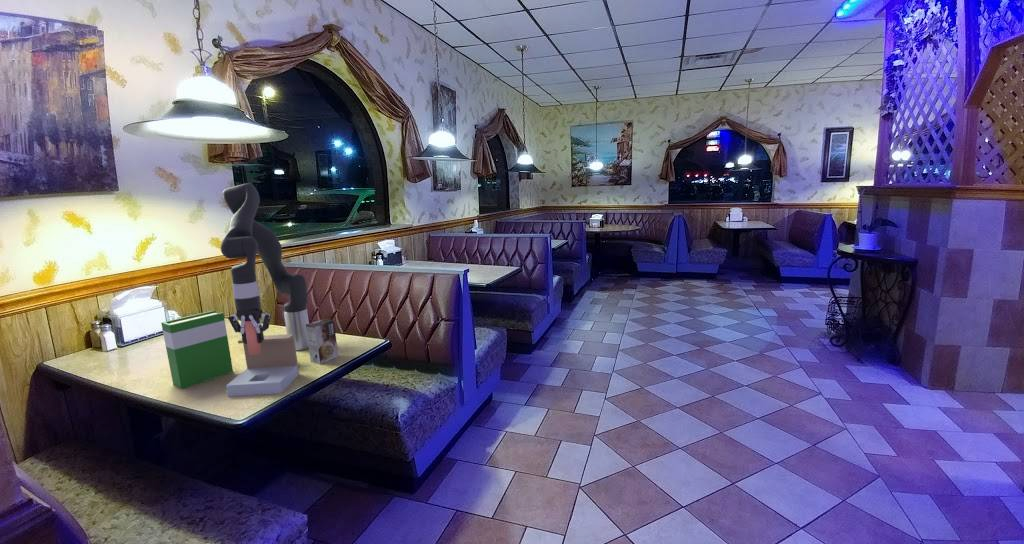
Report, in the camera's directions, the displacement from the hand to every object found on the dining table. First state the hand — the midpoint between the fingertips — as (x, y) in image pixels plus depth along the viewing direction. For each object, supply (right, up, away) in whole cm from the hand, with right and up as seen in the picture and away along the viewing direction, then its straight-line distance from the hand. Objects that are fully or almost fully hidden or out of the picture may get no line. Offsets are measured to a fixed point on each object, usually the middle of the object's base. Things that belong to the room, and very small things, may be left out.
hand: (253, 342), depth 161 cm
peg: (0, -4, +1) cm, 4 cm away
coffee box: (+13, -11, +29) cm, 34 cm away
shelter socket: (+1, -16, +6) cm, 17 cm away
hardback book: (-27, -16, +14) cm, 34 cm away
